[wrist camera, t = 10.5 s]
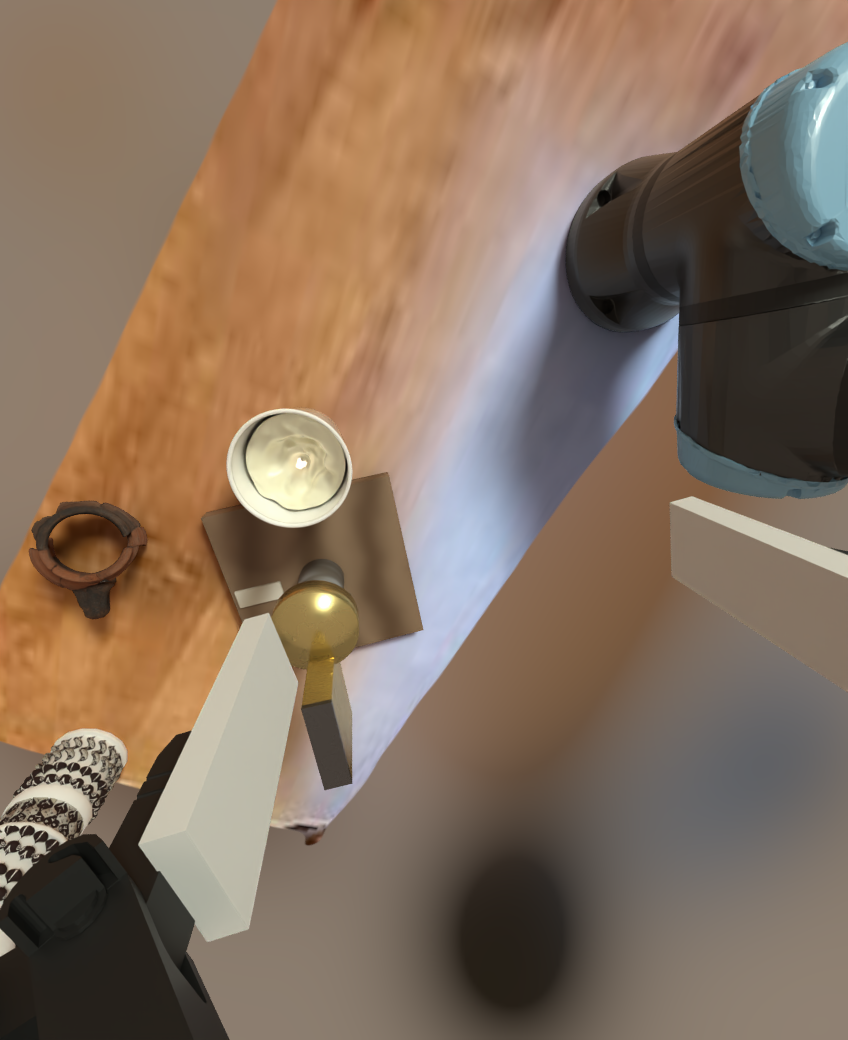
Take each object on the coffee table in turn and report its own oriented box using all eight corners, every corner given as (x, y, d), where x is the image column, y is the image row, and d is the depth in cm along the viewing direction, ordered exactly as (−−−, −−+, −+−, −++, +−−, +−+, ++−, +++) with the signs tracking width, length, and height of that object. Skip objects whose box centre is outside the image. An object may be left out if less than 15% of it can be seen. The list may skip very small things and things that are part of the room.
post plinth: (387, 472, 48) (396, 495, 39) (420, 621, 55) (435, 671, 46) (206, 512, 46) (170, 547, 37) (264, 661, 53) (246, 722, 44)
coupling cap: (263, 589, 39) (241, 643, 31) (350, 572, 40) (350, 621, 32) (302, 723, 45) (291, 798, 37) (378, 706, 46) (383, 776, 38)
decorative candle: (59, 788, 54) (-160, 1099, 31) (38, 730, 51) (-222, 1027, 28) (138, 777, 56) (-16, 1068, 32) (121, 721, 53) (-61, 997, 29)
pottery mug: (27, 513, 44) (4, 508, 37) (135, 495, 49) (133, 487, 42) (62, 624, 45) (45, 639, 38) (163, 595, 50) (166, 604, 43)
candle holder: (323, 507, 48) (315, 547, 37) (240, 462, 45) (204, 492, 34) (368, 432, 46) (374, 451, 35) (284, 380, 43) (261, 383, 32)
